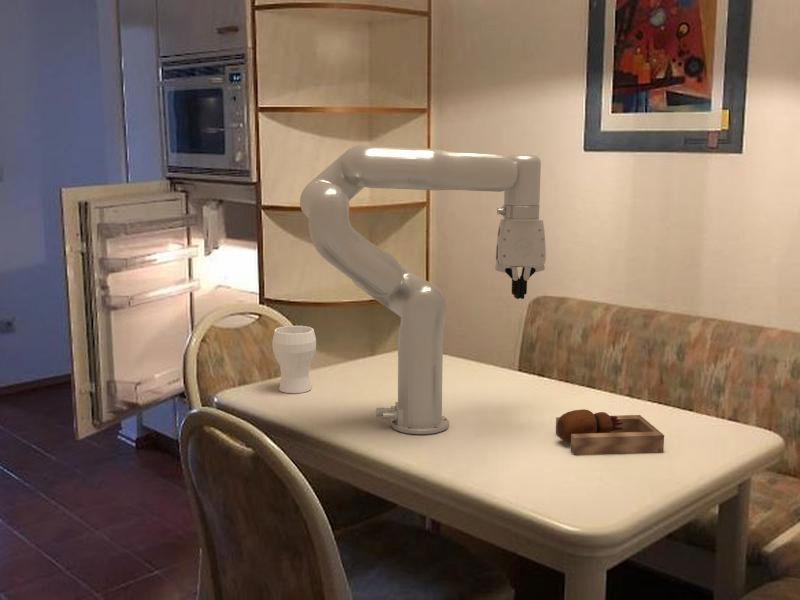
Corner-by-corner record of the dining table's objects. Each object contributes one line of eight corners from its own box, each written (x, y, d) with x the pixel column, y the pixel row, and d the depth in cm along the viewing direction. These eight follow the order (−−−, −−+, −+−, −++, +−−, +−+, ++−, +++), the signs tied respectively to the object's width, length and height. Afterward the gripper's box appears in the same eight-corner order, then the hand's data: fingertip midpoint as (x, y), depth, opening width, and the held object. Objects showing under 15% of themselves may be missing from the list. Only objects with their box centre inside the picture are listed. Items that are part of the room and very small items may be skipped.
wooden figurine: (553, 439, 187) (616, 432, 191) (566, 449, 181) (631, 441, 186) (554, 408, 185) (618, 401, 190) (568, 417, 180) (633, 410, 185)
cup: (325, 387, 224) (324, 328, 222) (298, 397, 216) (297, 336, 213) (292, 381, 230) (291, 323, 227) (264, 391, 221) (263, 330, 218)
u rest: (574, 455, 178) (574, 437, 177) (555, 433, 191) (556, 417, 190) (663, 452, 180) (664, 435, 179) (639, 430, 193) (639, 414, 192)
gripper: (490, 215, 189) (488, 301, 192) (560, 214, 190) (557, 300, 194) (483, 212, 196) (481, 295, 199) (550, 211, 198) (548, 294, 201)
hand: (518, 297), depth 197 cm, fingers closed
